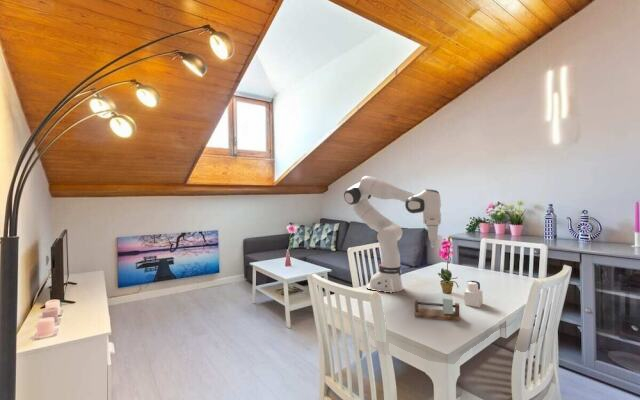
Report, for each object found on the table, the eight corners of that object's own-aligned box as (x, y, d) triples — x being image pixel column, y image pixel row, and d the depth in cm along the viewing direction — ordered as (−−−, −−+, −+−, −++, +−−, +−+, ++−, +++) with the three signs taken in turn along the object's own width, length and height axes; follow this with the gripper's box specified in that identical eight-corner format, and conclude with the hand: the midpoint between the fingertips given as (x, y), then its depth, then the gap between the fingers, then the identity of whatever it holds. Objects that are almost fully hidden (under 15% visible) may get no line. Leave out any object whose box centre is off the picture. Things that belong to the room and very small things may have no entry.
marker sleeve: (443, 313, 146) (443, 298, 146) (442, 309, 151) (442, 295, 151) (452, 314, 145) (452, 299, 145) (451, 310, 150) (451, 295, 150)
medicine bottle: (468, 300, 168) (467, 278, 167) (482, 303, 163) (482, 281, 163) (464, 304, 162) (464, 282, 162) (479, 307, 158) (479, 284, 157)
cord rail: (414, 317, 149) (414, 303, 149) (415, 310, 157) (415, 298, 157) (460, 321, 143) (459, 307, 143) (458, 314, 150) (458, 301, 150)
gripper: (425, 217, 174) (426, 242, 175) (425, 222, 155) (426, 249, 155) (437, 217, 172) (438, 242, 173) (439, 222, 153) (439, 249, 153)
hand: (432, 245), depth 164 cm, fingers open, 8 cm apart
